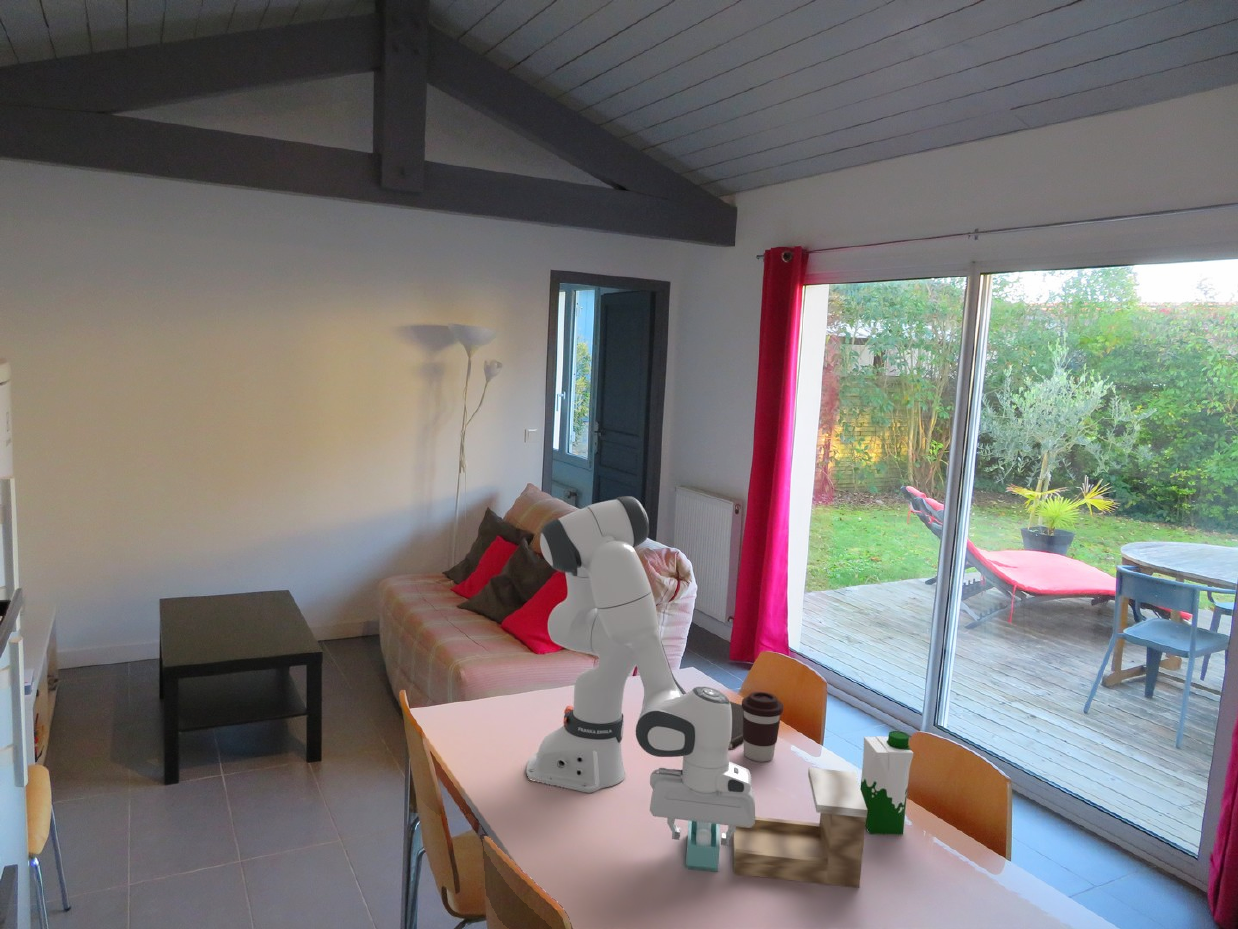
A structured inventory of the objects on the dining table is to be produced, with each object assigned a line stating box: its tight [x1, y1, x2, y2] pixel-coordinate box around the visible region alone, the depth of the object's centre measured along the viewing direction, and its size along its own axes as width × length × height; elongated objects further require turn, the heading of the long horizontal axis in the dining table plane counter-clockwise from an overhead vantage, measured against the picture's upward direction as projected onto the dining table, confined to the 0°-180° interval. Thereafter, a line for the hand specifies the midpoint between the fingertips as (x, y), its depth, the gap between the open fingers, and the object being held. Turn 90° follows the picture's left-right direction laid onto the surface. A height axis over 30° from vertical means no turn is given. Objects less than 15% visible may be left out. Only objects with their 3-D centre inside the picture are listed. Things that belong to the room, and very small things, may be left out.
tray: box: [685, 821, 721, 873], centre depth 174 cm, size 12×6×6 cm, turn 174°
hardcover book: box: [728, 700, 744, 750], centre depth 235 cm, size 16×23×2 cm
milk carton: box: [860, 730, 914, 835], centre depth 187 cm, size 9×9×20 cm
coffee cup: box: [741, 691, 784, 763], centre depth 217 cm, size 10×10×15 cm
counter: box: [732, 767, 867, 889], centre depth 172 cm, size 23×15×16 cm, turn 84°
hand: (700, 841), depth 173 cm, fingers open, 8 cm apart
